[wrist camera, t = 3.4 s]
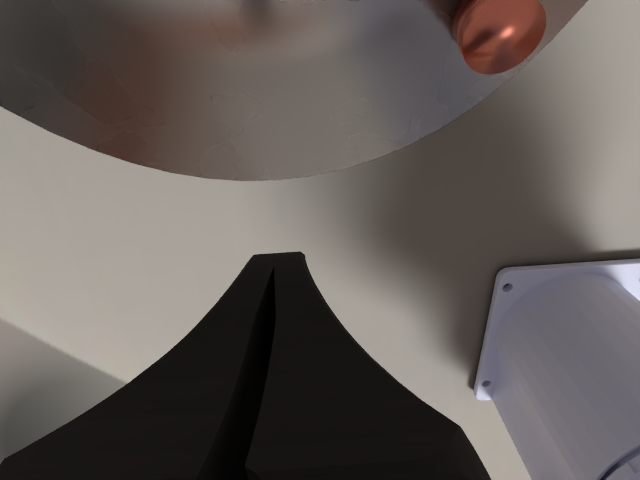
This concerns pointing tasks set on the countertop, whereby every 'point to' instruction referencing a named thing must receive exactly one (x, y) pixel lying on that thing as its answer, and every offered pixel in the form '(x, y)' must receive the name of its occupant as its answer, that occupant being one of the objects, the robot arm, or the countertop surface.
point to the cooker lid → (261, 76)
